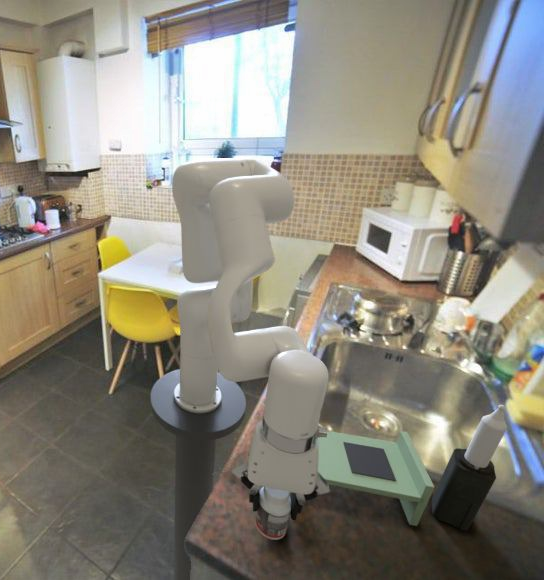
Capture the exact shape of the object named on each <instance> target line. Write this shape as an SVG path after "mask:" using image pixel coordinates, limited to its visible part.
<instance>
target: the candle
mask: <svg viewBox="0 0 544 580" xmlns="http://www.w3.org/2000/svg"><path fill="white" fill-rule="evenodd" d="M506 409H507V407H506V406H505V405H504V404H499V405H498V406H497V409H495V410H494V411H493V412H491V413H490V414H487V415H483V416H482V418H481V419H480V421H479V423H478V425H477V427H476V429H475V432H474V434H473V436H472V438H471V440H470V443H469V445H468V446H467V448H458V447H457V448H454V449H453V451H452V453H451V456H450V458H449V460H448V462H447V464H446V466H445V469H444V471H443V473H442V475H441V476H440V480H439V482H438V484H437V486H436V488H435V491H434V493H433V494H432V496H431V513H432V516H433V517H434V518H435V519H437V520H438V521H440V522H444V523H447V524H448V525H450V526H453V527H455V528H458V529H459V530H461V531H468V530H469V529H470V527H471V525H472V523H473V522H474V520H475V518H476V516H477V514H478V513H479V510H480V509H481V507H482V505H483V503H484V501H485V499H486V498H487V496H488V494H489V492H490V490H491V488H492V487H493V485H494V484H495V481H496V479H497V475H496V471H495V464H494V463H493V462H492V458H493V456H494V455H495V453H496V451H497V448H499V444H500V443H501V441H502V439H503V437H504V435H505V433H506V431H507V429H508V425H507V423H506V420H505V411H506Z"/></svg>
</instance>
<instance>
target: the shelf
mask: <svg viewBox="0 0 544 580" xmlns="http://www.w3.org/2000/svg"><path fill="white" fill-rule="evenodd" d="M318 447H319V461H318V472H319V473H320V474H321V476H322V477H323V478H324V479H325V480H326V481H327V482H328V484H329V486H332V487H333V486H334V487H339V488H344V489H349V490H354V491H358V492H364V493H367V494H374V495H379V496H384V497H389V498H394V499H398V500H399V501H400V504H401V507H402V510H403V512H404V514H405V517H406V520H407V522H408V525H410V526H415V527H417V526H418V525H419V523H420V521H421V518H422V516H423V514H424V512H425V510H426V508H427V505H428V503H429V500H430V498H431V497H432V495H433V492H434V490H435V489H436V488H435V485H434V483H433V481H432V479H431V477H430V475H429V474H428V471H427V469H426V467H425V465H424V462H423V461H422V459H421V457H420V454H419V452H418V451H417V449H416V447H415V445H414V442H413V441H412V439H411V437H410V435H409V432H408V431H403V430H400V431H399V434H398V436H397V439H396V441H390V440H385V439H379V438H378V439H377V438H373V437H366V436H360V435H355V434H348V433H341V432H336V431H332V430H331V431H329V430H327V437H321V438H320V437H318ZM291 493H292V492H290V493H289V496H290V498H291Z"/></svg>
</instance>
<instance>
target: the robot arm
mask: <svg viewBox="0 0 544 580" xmlns="http://www.w3.org/2000/svg"><path fill="white" fill-rule="evenodd" d="M171 190H172V198H173V201H174V205H175V207H176V211H177V213H178V216H179V221H180V228H181V229H180V231H181V232H180V235H181V237H180V238H181V261H182V262H181V263H182V273H183V276H184V279H185V280H186V281H187V282H189V283H192V284H207V283H208V284H209V283H216V285H208V286H200V287H194V288H189V289H187V290H185V291H183V292H182V293H180V294H179V296H178V297H177V301H176V310H177V316H178V322H179V334H180V337H179V339H180V341H179V342H180V343H179V344H180V345H179V347H180V349H179V351H180V352H179V369H180V383H179V384H178V385H177V386H176V387H175V390H174V399H175V401H176V403H177V404H178V405H179V406H180V407H181V408H183V409H184V410H186V411H189V412H193V413H207V412H211V411H213V410H215V409H216V408H217V407H218V406H219V405H220V403H221V400H222V394H221V391H220V389H219V388H218V387H217V372H219V373H220V374H221V375H222V376H223V377H224V378H225V379H227V380H229V381H233V382H235V383H238V382H239V383H240V382H246V381H247V382H248V381H251V380H258V379H264V378H267V385H266V392H265V400H264V406H263V412H262V413H263V414H262V420H259V421H258V422H257V423H256V425H255V427H254V429H253V432H252V435H251V439H250V442H249V447H248V452H247V456H245V457H243V458H241V459H240V460H238V461H236V462H234V463H232V464H231V473H232V474H233V475H234V476H235V477H236V478H238V479H240V482H241V483H242V484H243V485H244V486H245V487H246V488H247V489H248V491H249V495H248V502H249V503H251V504H252V512H255V513H256V511H258V505H259V498H260V489H261V488H262V487H263V486H264V487H269V488H273V489H278V490H283V491H288V492H292V493H291V501H292V509H291V513H290V520H292V521H294V522H296V521H297V517H298V514H301V513H302V509H303V506H306V504H307V501H310V500H313V499H317V497H318V495H319V496H322V495H325V494H329V493H330V492H331V489H330V485H329V484H328V482H327V481H326V480H325V479H324V478H323V477H322V476H321V474H320V473H319V472H318V461H319V447H318V437H320V438H321V437H327V431H328V429H327V427H322V426H320V425H319V422H320V419H321V415H322V410H323V405H324V402H325V398H326V394H327V389H328V384H329V379H330V378H329V377H330V374H329V370H328V368H327V366H326V364H325V363H324V362H323V361H322V360H321V359H320V358H318V357H317V356H315V355H314V354H313V353H312V352H311V351H310V349H309V348H308V346H307V344H306V343H305V340H304V339H303V338H302V335H300V333H299V332H298V331H297V330H296V329H294V328H293V327H291V326H289V325H288V326H287V325H277V326H271V327H265V328H256V329H250V330H242V331H236V332H234V330H233V325H232V324H238V323H242V322H245V321H247V319H249V317H250V315H251V313H252V308H253V292H254V291H253V290H254V289H253V288H254V279H255V278H257V277H260V276H262V275H263V274H264V273H266V272H267V271H269V270H270V269H271V268H272V267H273V266H274V265H275V260H276V258H275V253H274V250H273V246H272V242H271V238H270V237H271V236H270V234H269V230H268V225H269V224H278V223H279V224H280V223H282V222H285V221H287V220H288V219H289V218H290V217H291V215H292V213H293V212H294V207H295V194H294V189H293V187H292V184H291V183H290V182H289V180H288V179H287V177H285V176H284V174H282V173H281V172H280V171H278V170H276V169H274V168H273V167H272V166H269V165H268V164H266V163H265V162H263V161H261V160H260V159H257V158H253V157H232V158H206V159H198V160H190V161H187V162H183V163H182V164H180V165H179V166H177V167H176V169H175V171H174V172H173V176H172V182H171Z"/></svg>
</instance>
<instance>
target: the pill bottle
mask: <svg viewBox="0 0 544 580" xmlns="http://www.w3.org/2000/svg"><path fill="white" fill-rule="evenodd" d="M289 493H290V492H288V491H283V490H278V489H273V488H269V487H264V486H262V487H261V489H260V498H259V505H258V511H256V512H255V514H254V525H255V527H256V529H257V530H258V533H260V534H261V535H262V536H263V537H264V538H266V539H268V540H273V541H274V540H275V541H277V540H280V539H283V538H284V536H285V535H286V534H287V531H288V527H289V522H290V518H291V515H290V513H291V509H292V501H291V498H290V496H289Z"/></svg>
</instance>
